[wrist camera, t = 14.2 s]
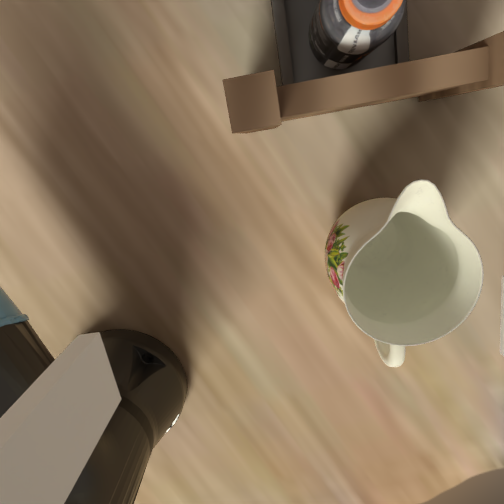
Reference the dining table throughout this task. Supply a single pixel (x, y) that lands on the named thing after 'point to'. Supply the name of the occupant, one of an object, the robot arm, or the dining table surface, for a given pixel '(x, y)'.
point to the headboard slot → (352, 74)
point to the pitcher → (403, 269)
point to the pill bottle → (351, 29)
